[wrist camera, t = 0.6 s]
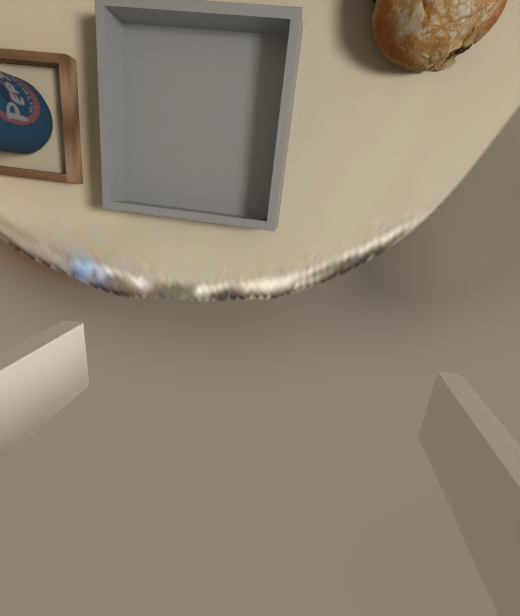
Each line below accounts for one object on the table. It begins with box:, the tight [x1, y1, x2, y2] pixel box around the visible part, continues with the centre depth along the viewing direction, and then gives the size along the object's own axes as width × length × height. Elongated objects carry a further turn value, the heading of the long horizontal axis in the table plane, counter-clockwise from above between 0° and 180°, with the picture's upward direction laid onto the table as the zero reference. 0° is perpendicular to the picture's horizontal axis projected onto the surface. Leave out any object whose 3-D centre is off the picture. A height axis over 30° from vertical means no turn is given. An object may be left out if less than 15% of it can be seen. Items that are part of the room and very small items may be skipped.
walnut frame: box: [0, 48, 83, 184], centre depth 35 cm, size 12×12×2 cm
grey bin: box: [95, 0, 303, 231], centre depth 32 cm, size 18×18×4 cm
